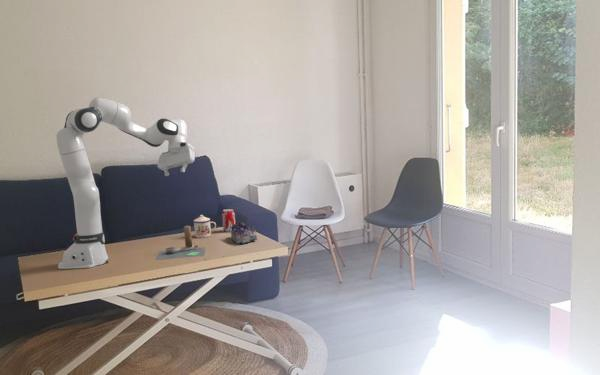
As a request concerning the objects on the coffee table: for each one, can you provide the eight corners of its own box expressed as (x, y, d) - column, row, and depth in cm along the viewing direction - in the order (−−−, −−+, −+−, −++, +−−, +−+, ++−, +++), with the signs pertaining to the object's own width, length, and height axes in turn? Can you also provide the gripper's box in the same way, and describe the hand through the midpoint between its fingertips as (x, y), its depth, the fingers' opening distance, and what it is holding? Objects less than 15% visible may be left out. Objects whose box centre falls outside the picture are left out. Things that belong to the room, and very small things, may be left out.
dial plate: (155, 263, 264) (155, 259, 264) (159, 254, 281) (159, 250, 280) (204, 258, 266) (204, 255, 266) (205, 250, 283) (205, 246, 283)
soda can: (233, 232, 320) (232, 211, 319) (221, 232, 322) (219, 211, 320) (237, 229, 327) (236, 208, 325) (225, 229, 329) (224, 208, 327)
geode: (223, 239, 306) (224, 220, 305) (243, 238, 311) (244, 220, 311) (237, 244, 288) (238, 224, 287) (259, 244, 293) (259, 224, 293)
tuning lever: (167, 254, 272) (165, 230, 270) (165, 252, 276) (162, 229, 274) (198, 249, 279) (196, 225, 277) (195, 247, 282) (193, 224, 281)
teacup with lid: (196, 238, 310) (194, 217, 308) (193, 235, 318) (191, 214, 317) (218, 235, 314) (216, 214, 312) (215, 232, 322) (213, 212, 321)
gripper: (156, 150, 292) (153, 175, 286) (190, 141, 284) (187, 166, 278) (164, 156, 297) (161, 180, 291) (197, 147, 289) (195, 172, 283)
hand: (174, 173), depth 284 cm, fingers open, 8 cm apart
